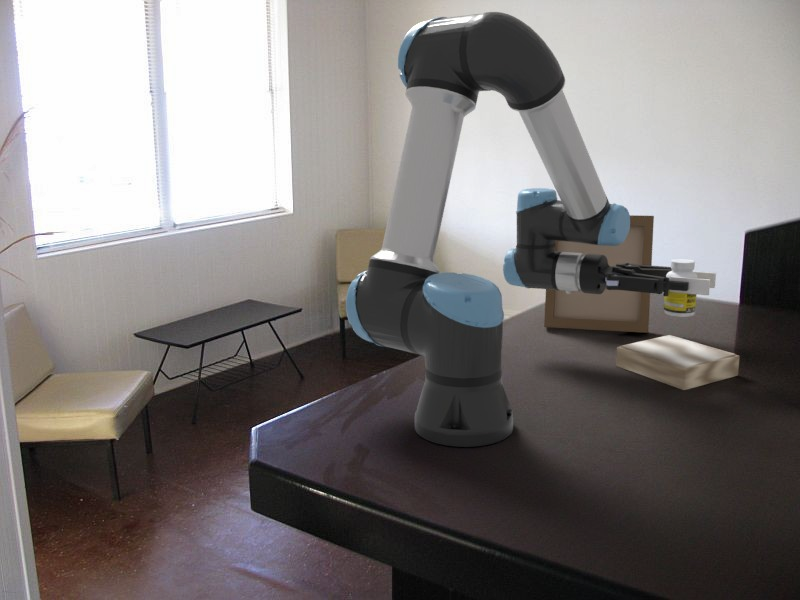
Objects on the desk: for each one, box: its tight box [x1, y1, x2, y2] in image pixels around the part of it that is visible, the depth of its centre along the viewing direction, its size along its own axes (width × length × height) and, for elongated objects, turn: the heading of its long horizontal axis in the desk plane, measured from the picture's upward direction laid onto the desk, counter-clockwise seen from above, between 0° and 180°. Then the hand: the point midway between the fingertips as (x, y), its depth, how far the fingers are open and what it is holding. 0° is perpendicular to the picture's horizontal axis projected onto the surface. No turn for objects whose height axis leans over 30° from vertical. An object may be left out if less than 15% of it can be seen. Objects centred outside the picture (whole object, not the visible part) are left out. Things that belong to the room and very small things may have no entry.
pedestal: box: [615, 334, 740, 391], centre depth 147 cm, size 14×16×4 cm
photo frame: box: [543, 214, 655, 334], centre depth 175 cm, size 15×22×25 cm
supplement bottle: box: [663, 258, 698, 318], centre depth 143 cm, size 5×5×10 cm
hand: (712, 283), depth 141 cm, fingers closed on supplement bottle, 5 cm apart
